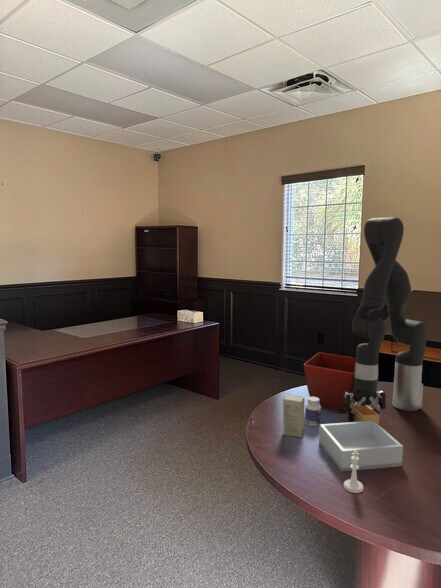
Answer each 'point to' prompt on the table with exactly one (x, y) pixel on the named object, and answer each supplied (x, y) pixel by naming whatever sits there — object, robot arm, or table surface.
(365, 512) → the table surface
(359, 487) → the chess piece
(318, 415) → the pill bottle
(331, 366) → the plant pot
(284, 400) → the skincare box
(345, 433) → the big crate
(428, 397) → the table surface
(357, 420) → the small crate
